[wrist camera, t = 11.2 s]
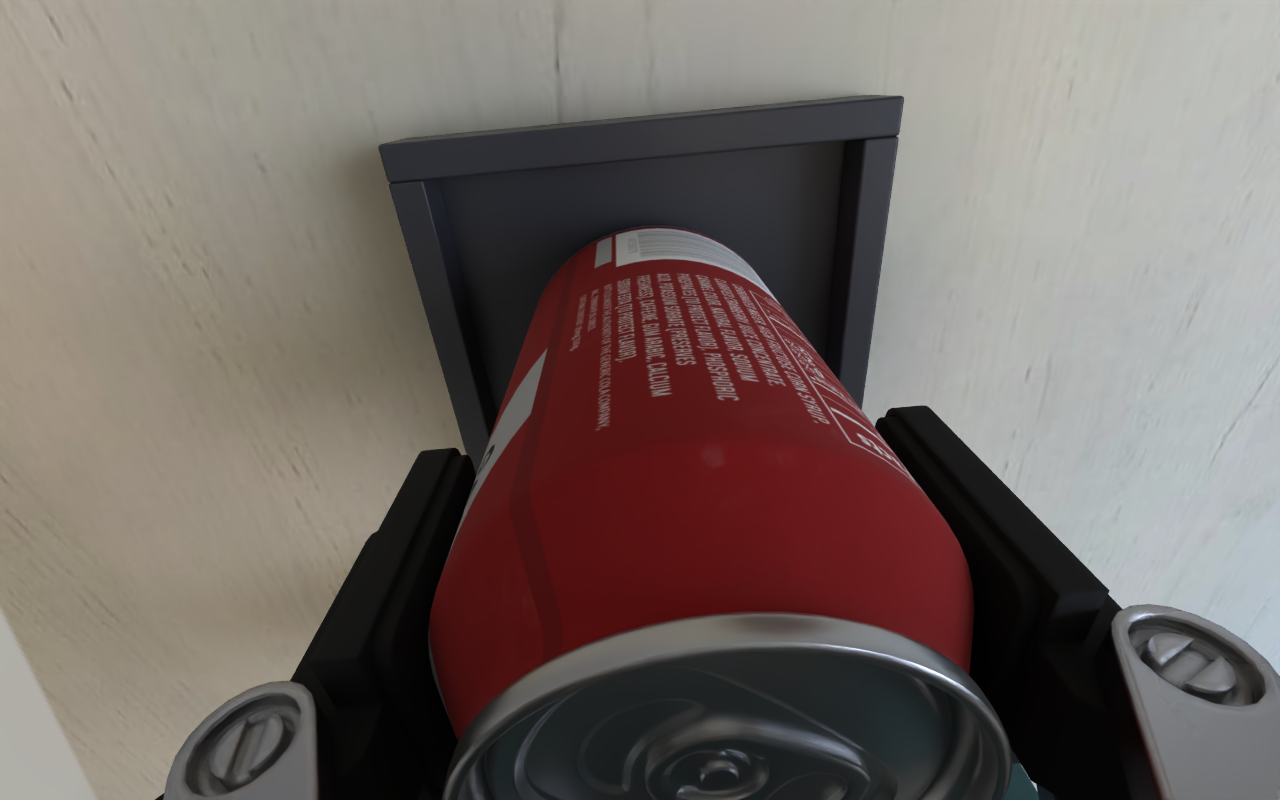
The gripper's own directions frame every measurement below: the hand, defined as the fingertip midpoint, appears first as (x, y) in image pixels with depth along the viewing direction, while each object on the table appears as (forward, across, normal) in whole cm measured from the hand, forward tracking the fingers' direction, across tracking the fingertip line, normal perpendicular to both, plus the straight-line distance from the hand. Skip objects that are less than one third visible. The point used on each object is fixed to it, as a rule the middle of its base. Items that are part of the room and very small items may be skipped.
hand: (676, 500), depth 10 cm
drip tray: (+8, 0, 0) cm, 8 cm away
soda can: (+7, 0, 0) cm, 7 cm away
